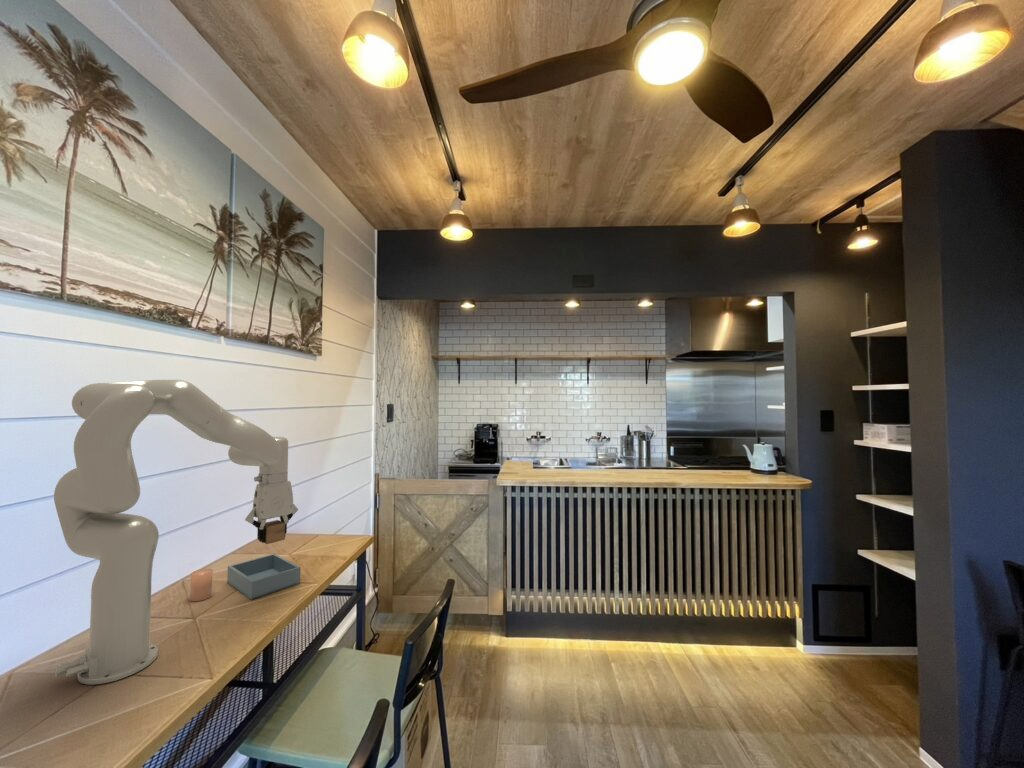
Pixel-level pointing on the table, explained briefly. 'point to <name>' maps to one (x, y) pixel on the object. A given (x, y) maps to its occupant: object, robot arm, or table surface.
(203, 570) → the salmon orange cylinder
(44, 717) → the table surface
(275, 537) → the walnut cube
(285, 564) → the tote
